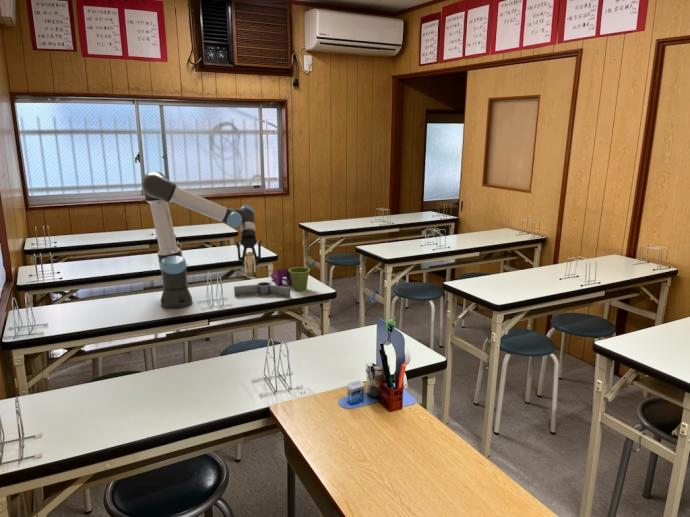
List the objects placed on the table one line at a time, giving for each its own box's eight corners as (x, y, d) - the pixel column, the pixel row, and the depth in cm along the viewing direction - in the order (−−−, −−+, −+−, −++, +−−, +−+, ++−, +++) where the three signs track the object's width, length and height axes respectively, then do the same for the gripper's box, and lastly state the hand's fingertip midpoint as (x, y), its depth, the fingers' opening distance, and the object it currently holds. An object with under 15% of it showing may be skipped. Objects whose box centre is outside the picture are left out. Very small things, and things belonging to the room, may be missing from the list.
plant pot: (314, 287, 277) (314, 268, 274) (303, 294, 267) (303, 273, 264) (296, 284, 282) (295, 265, 279) (284, 290, 272) (284, 271, 269)
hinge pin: (245, 276, 254) (244, 253, 251) (247, 274, 258) (246, 251, 255) (253, 276, 254) (252, 254, 251) (255, 274, 258) (254, 252, 255)
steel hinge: (233, 295, 263) (233, 286, 262) (238, 290, 272) (238, 281, 271) (289, 297, 261) (289, 288, 260) (292, 291, 271) (292, 282, 269)
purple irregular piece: (271, 290, 291) (279, 285, 275) (269, 276, 293) (276, 270, 276) (286, 288, 295) (295, 283, 279) (284, 274, 296) (293, 268, 280)
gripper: (264, 235, 268) (267, 273, 256) (232, 236, 265) (233, 275, 253) (264, 227, 261) (267, 266, 250) (231, 229, 258) (232, 268, 247)
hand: (250, 271), depth 252 cm, fingers closed on hinge pin, 4 cm apart
